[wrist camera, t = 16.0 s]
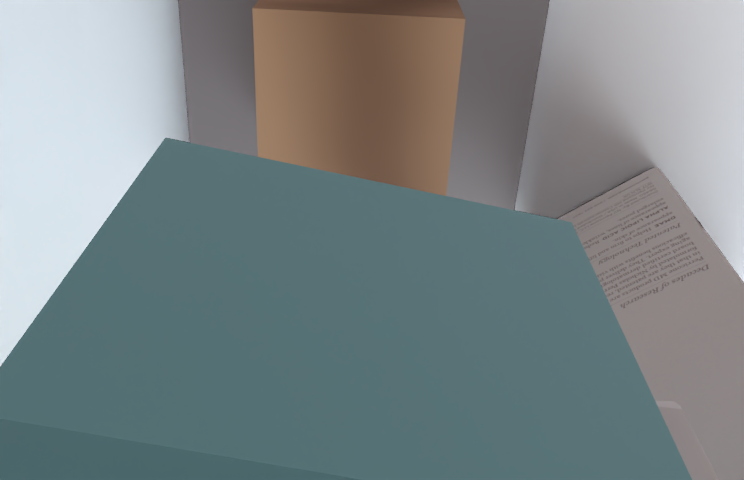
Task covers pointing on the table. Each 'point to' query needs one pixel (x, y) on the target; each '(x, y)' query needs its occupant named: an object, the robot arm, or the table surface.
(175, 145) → the teal block
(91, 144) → the table surface
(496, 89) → the baseplate
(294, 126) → the walnut brick
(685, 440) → the robot arm
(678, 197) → the skincare box
